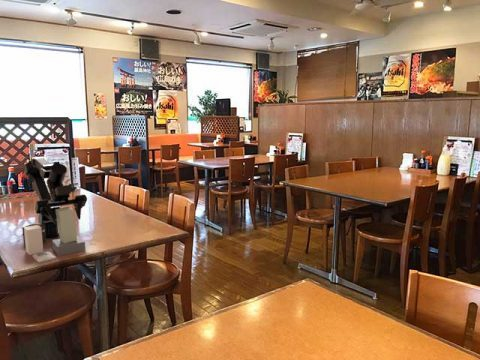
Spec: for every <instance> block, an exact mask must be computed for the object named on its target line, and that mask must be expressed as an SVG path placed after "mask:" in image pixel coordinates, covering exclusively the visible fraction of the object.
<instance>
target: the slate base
mask: <svg viewBox="0 0 480 360" xmlns="http://www.w3.org/2000/svg"><path fill="white" fill-rule="evenodd" d="M76 236H77V240H76V241H72V242H68V243H65V244H64V243H63V242H61V241H60V238H57V239H52V240H51V241H52V242H51V243H52V250H53V251H54V252H55V254H56V255H57V256H58V257H59V256H65V255H71V254H74V253H79V252H84V251H86V241H85V240H84V239H82V238H81V236H79V235H76Z"/></svg>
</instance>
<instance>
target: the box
mask: <svg viewBox="0 0 480 360" xmlns="http://www.w3.org/2000/svg"><path fill="white" fill-rule="evenodd" d="M34 225H39V226H40V227H41V230H42V241H43V242H46V239H47V238H45V229H44V224H40V223H32V224H28V225H26V226H23V227H22V239H23V245H25V235H24V227H28V226H34Z"/></svg>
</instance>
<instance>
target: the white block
mask: <svg viewBox="0 0 480 360" xmlns="http://www.w3.org/2000/svg"><path fill="white" fill-rule="evenodd" d="M27 226H28V225H27ZM23 227H24V235H25V244H24V245H25V252H26V253H27V254H28V255H29V256H32V255H35V254H40V253H44V243H43V241H42V230H41V227H40V226H39V225H34V226H28V227H25V226H23Z"/></svg>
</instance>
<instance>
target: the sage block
mask: <svg viewBox="0 0 480 360" xmlns="http://www.w3.org/2000/svg"><path fill="white" fill-rule="evenodd" d="M55 211H56V217H57V223H58V233H59V236H58V237H59V239H60V241H61V242H63V243H64V244H65V243H68V242H72V241H76V240H77V236H78V235H77V231H76V224H75V217H74V211H73V208H72V207H70V206H67V207H66V206H65V207H60V209H55Z"/></svg>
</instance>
